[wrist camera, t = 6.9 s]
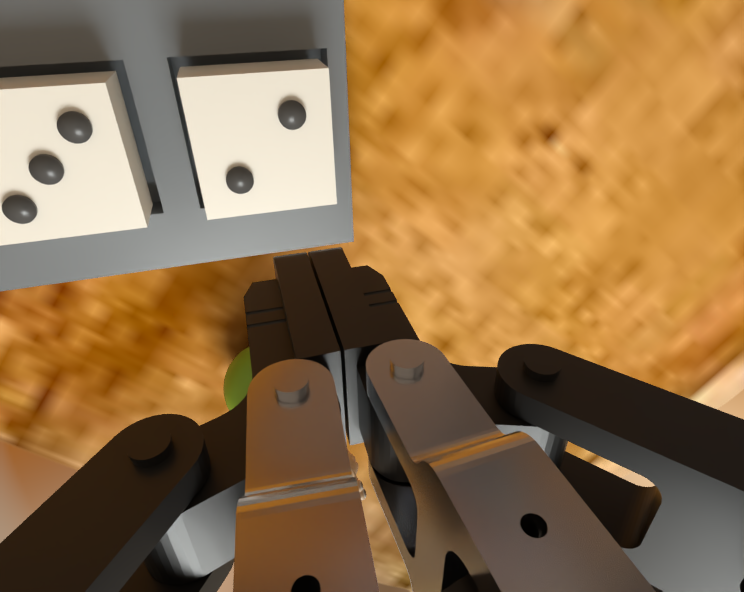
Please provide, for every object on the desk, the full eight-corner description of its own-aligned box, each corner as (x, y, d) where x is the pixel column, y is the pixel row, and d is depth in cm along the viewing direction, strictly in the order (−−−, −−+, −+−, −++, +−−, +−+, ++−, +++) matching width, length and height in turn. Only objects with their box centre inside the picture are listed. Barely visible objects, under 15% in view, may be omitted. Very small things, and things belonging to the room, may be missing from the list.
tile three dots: (-47, 80, 18) (-82, 96, 16) (115, 70, 20) (104, 83, 17) (15, 219, 22) (-7, 248, 19) (152, 204, 23) (146, 229, 21)
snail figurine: (331, 366, 35) (379, 522, 25) (241, 399, 34) (255, 572, 24) (307, 306, 31) (352, 458, 22) (208, 341, 31) (208, 513, 21)
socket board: (-368, -17, 17) (-463, -14, 15) (327, -33, 22) (342, -32, 20) (-156, 283, 24) (-198, 319, 21) (341, 218, 29) (353, 241, 26)
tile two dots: (179, 66, 20) (176, 79, 18) (317, 58, 21) (329, 68, 19) (207, 198, 23) (207, 221, 21) (326, 184, 24) (337, 205, 22)
